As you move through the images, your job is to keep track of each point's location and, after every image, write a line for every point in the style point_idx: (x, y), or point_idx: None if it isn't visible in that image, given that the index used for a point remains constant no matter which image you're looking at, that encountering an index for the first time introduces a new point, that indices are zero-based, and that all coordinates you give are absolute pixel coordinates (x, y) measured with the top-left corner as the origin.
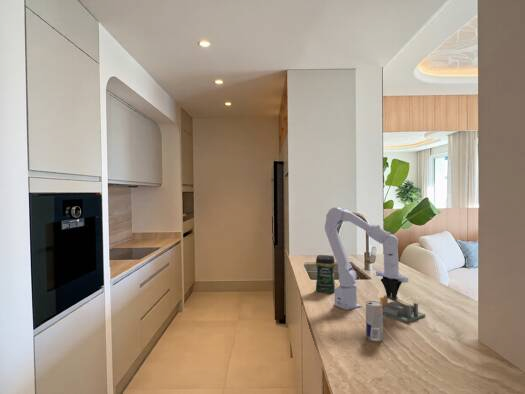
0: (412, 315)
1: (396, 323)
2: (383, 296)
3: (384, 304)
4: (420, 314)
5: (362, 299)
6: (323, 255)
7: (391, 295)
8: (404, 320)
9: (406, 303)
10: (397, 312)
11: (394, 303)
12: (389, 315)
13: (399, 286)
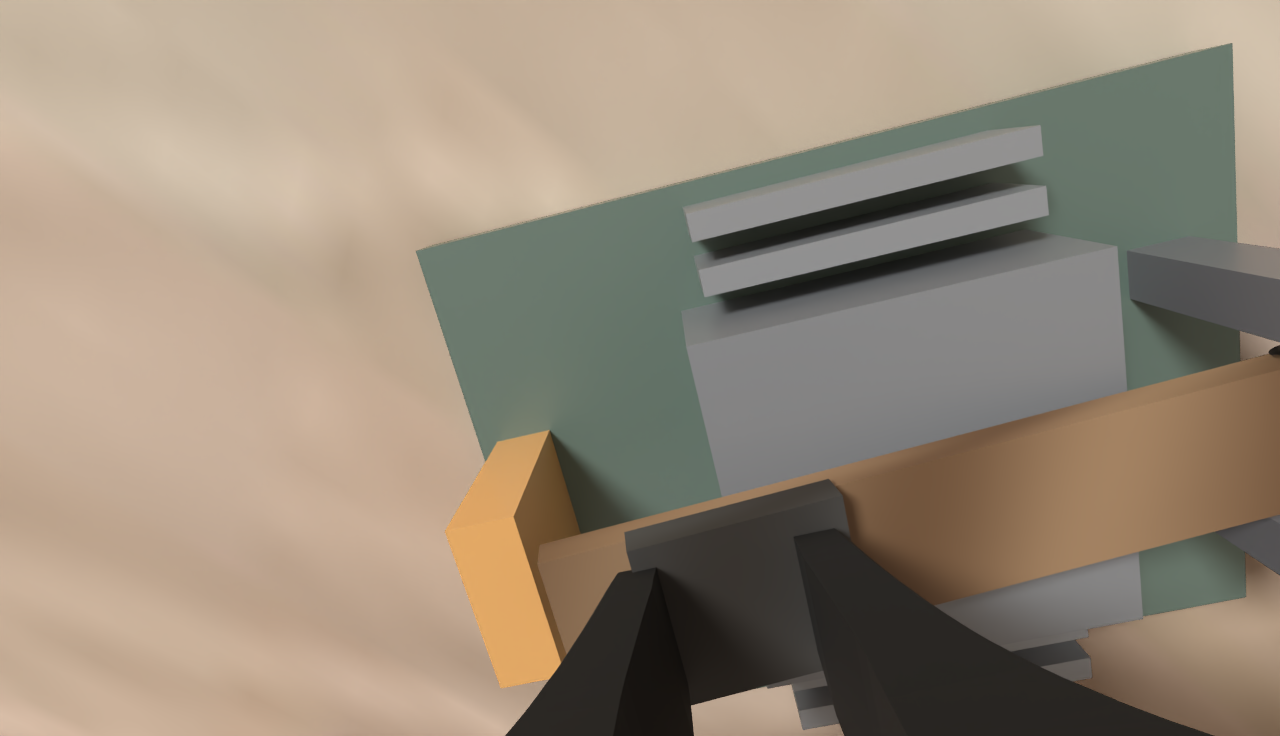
0: (1145, 348)
1: (1147, 700)
2: (472, 595)
3: (569, 536)
4: (1190, 161)
5: (7, 532)
6: None
7: (705, 591)
8: (1202, 596)
9: (1152, 459)
10: (1077, 643)
11: None
12: None
13: (1087, 706)
